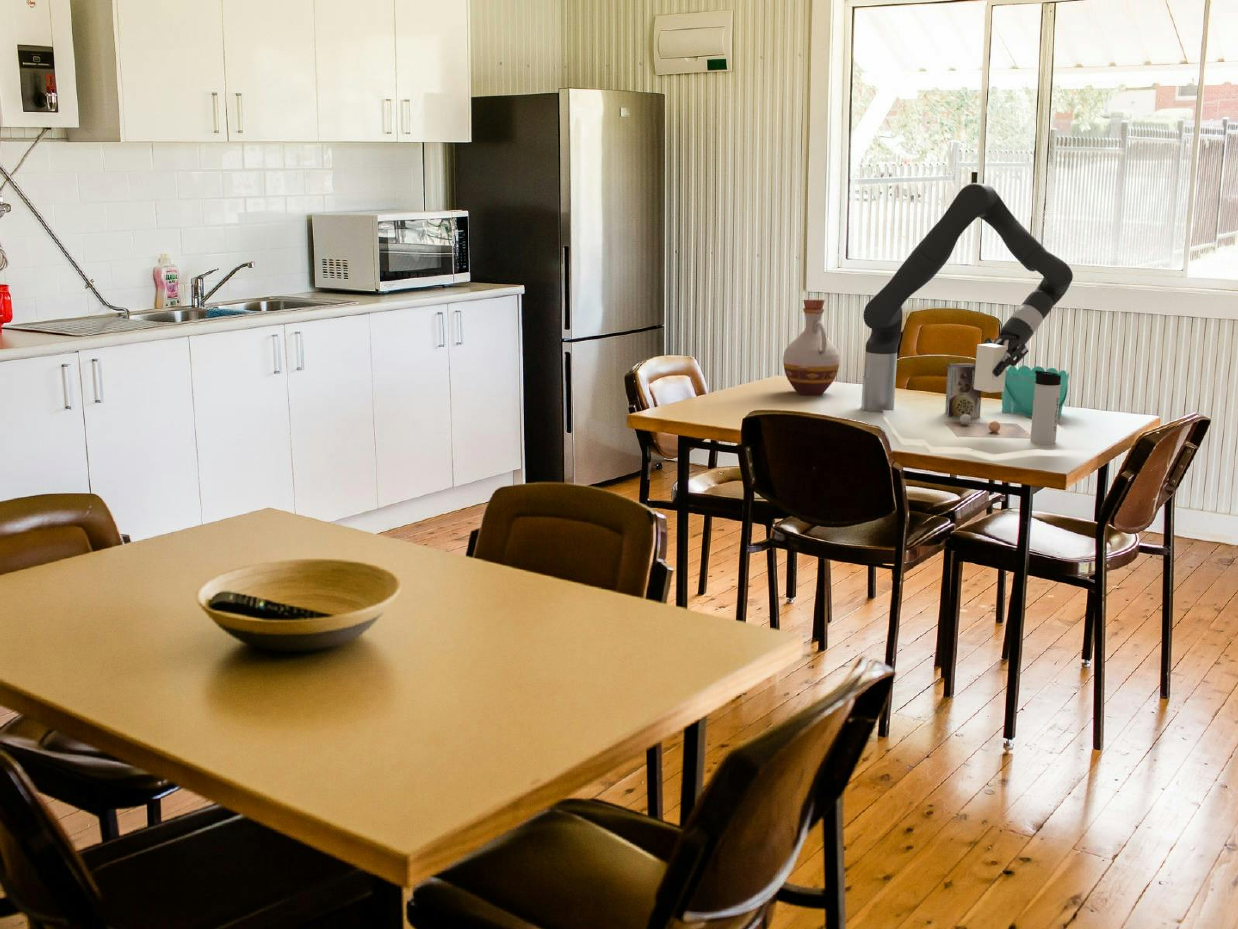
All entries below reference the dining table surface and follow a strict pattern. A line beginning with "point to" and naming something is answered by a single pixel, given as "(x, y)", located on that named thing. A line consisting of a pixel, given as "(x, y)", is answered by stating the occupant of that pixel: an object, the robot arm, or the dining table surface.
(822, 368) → the jug
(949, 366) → the coffee box
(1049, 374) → the travel mug
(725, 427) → the dining table surface
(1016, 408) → the basket
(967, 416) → the grey ball
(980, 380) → the cream tall block
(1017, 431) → the board
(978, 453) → the dining table surface
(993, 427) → the ball
